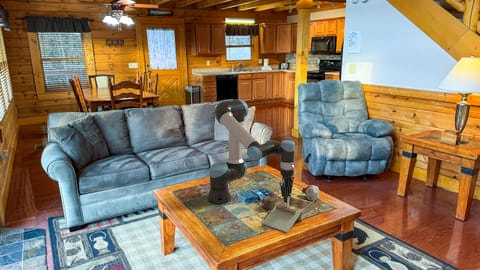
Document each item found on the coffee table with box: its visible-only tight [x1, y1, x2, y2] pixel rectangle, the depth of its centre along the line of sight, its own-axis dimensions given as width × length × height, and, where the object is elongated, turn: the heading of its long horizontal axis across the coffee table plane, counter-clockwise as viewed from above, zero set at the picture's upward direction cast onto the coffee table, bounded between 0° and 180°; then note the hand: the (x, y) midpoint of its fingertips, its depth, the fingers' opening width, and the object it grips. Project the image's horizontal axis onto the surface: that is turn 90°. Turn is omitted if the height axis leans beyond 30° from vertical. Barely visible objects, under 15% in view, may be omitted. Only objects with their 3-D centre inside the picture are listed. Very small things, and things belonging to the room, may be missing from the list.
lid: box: [261, 205, 301, 234], centre depth 182 cm, size 16×16×3 cm
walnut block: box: [263, 195, 278, 211], centre depth 201 cm, size 6×6×6 cm
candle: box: [301, 184, 320, 202], centre depth 213 cm, size 9×11×15 cm
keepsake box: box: [274, 195, 316, 223], centre depth 195 cm, size 18×17×6 cm
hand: (286, 206), depth 186 cm, fingers closed
